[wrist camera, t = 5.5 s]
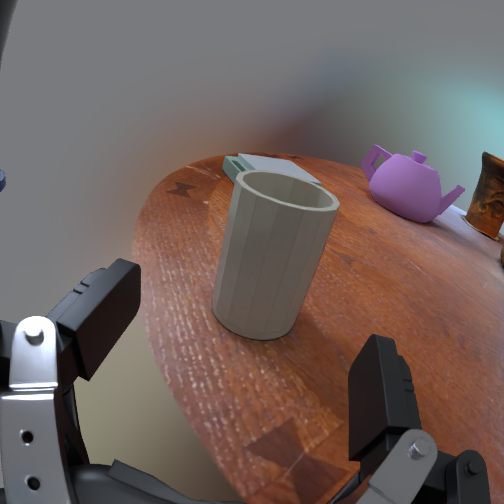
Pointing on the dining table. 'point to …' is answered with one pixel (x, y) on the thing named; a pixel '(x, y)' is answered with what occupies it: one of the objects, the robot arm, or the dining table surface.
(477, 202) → the vessel
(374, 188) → the teapot
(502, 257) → the bread roll
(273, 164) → the scale
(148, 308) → the dining table surface
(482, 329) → the dining table surface
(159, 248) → the dining table surface
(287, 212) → the tumbler
